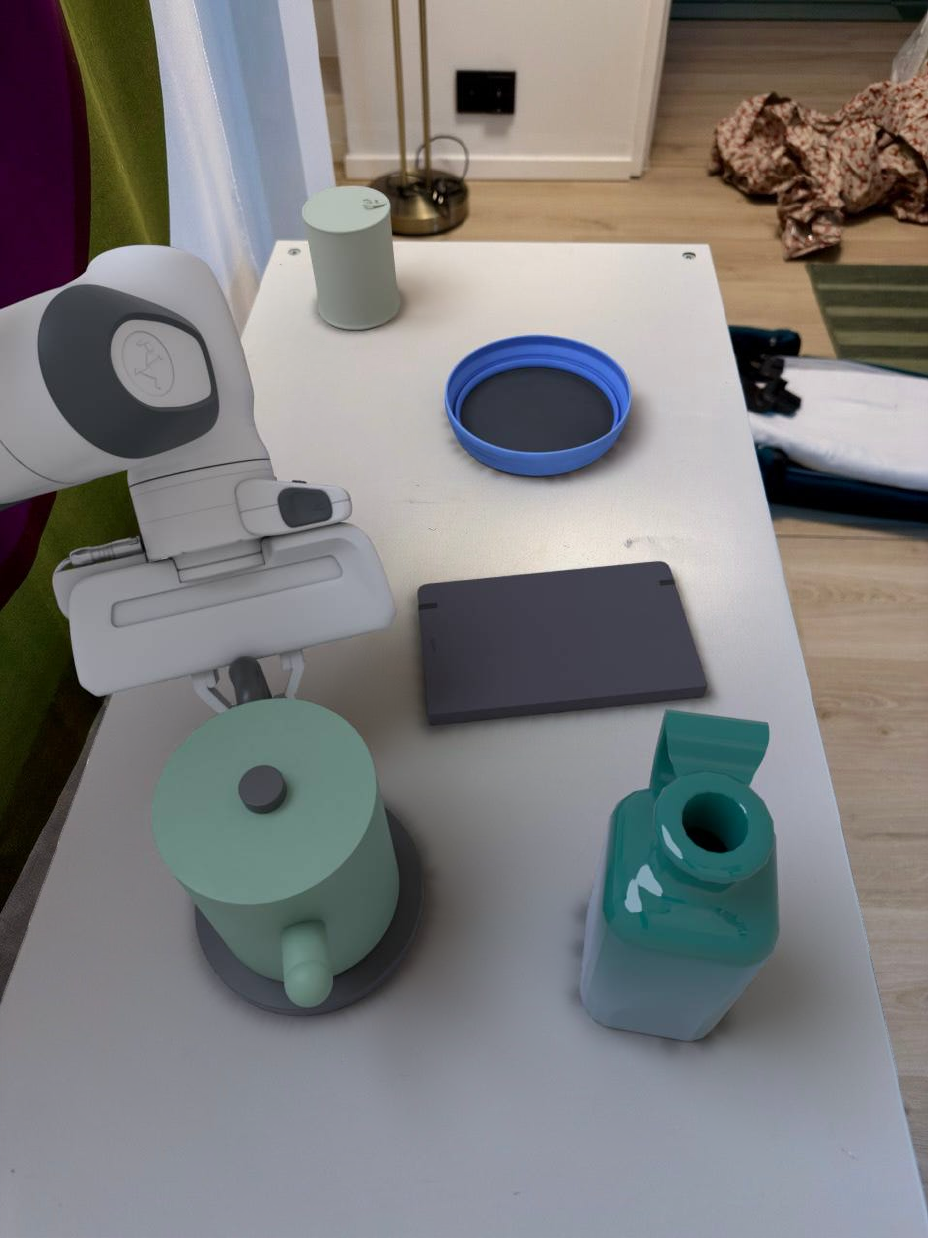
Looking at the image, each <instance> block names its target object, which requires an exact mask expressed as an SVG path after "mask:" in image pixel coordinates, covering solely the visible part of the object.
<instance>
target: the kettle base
mask: <svg viewBox="0 0 928 1238" xmlns="http://www.w3.org/2000/svg"><path fill="white" fill-rule="evenodd" d="M384 809H385V813H386V818H387V822H388V826H389V831H390V835H391V839H392V844H393V848H394V852H395V857H396V861H397V866H398V871H399V896H398V901H397V906H396V909H395V912H394V915H393V918H392V920H391V922H390V924H389V927H388V929H387V930H386V932H385V933H384V935H383V937H382V938H381V940H380V941H379V942H378V943H377V945H376V946H375V947H374V948H373V949H372V951H370V952H369V953H368V954H367V955H366V956H365V957H364V958H363V959H362V960H360V961H359V962H358V963H356V964H355V965H354V966H352V967H351V968H349V969H347V970H345V971H343V972H342V973H340V974H337V975H335V976H333V985H332V989H331V992H330V994H329V995H328V997H327V998H326V999H325V1000H324V1001H323V1002H322V1003H320V1004H319V1005H316V1006H313V1007H301V1006H298V1005H296V1004H295V1003H293V1002H292V1001H291V1000H290V999H289V997H288V996H287V994H286V991H285V986H284V982H281V981H276V980H273V979H270V978H267V977H264V976H262V975H260V974H258V973H256V972H254V971H253V970H251V969H250V968H248V967H247V966H246V965H245V964H243V963H242V962H241V961H240V960H239V959H238V958H237V957H236V956H235V954H234V953H233V952H232V950H231V949H230V948H229V947H228V945H227V944H226V943H225V941H224V940H223V939H222V938H221V936H220V935H219V934H218V932H217V931H216V930H215V928H214V927H213V926H212V924H211V923H210V922H209V921H208V919H207V918H206V917H205V915H204V914H203V913H202V911H201V910H200V909H199V908H198V906H197V905H196V904H195V903H194V919H195V920H194V921H195V927H196V928H195V929H196V933H197V938H198V942H199V944H200V947H201V950H202V953H203V955H204V956H205V958H206V960H207V963H208V964H209V966H210V967H211V968H212V970H213V971H214V972H215V974H216V975H217V976H218V978H219V979H221V981H222V982H223V983H224V984H225V986H227V987H228V989H230V990H231V991H232V992H233V994H235V995H236V996H238V997H239V998H241V999H242V1000H244V1001H246V1002H247V1003H248V1004H250V1005H252V1006H255V1007H257V1008H258V1009H260V1010H264V1011H267V1012H271V1013H274V1014H279V1015H285V1016H295V1017H296V1016H297V1017H298V1016H299V1017H302V1016H305V1017H306V1016H314V1015H315V1016H316V1015H323V1014H326V1013H330V1012H334V1011H336V1010H339V1009H343V1008H344V1007H347V1006H349V1005H351V1004H354V1003H355V1002H357V1001H359V1000H361V999H362V998H364V997H366V996H368V995H369V994H371V993H372V992H373V991H374V990H376V989H378V987H380V986H381V985H382V984H383V983H384V982H385V981H386V980H387V979H388V978H389V977H391V975H393V973H394V972H395V971H396V969H397V968H398V966H400V964H401V963H402V962H403V960H404V958H405V957H406V955H407V954H408V952H409V951H410V948H411V947H412V944H413V942H414V940H415V938H416V935H417V934H418V929H419V926H420V924H421V921H422V920H421V919H422V915H423V909H424V897H425V888H424V878H423V877H424V876H423V871H422V865H421V862H420V858H419V857H420V856H419V854H418V851H417V849H416V846H415V843H414V841H413V840H412V837H411V836H410V834H409V833H408V831H407V829H406V827H405V826H404V825H403V824H402V822H401V821H400V820H399V819H398V817H396V816H395V815H394V814H393V813H392V812H391V811H390V810H389V809H388V808H387V807H385V806H384Z"/></svg>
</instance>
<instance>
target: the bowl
mask: <svg viewBox="0 0 928 1238" xmlns="http://www.w3.org/2000/svg"><path fill="white" fill-rule="evenodd" d="M631 407H632V389H631V383H630V381H629V378H628V375H627V373H626V372H625V370H624V368H623V367H622V366H621V365H620V364H619V363H618V362H617V361H616V360H615V359H614V358H613V357H611V356H610V355H608V354H607V353H606V352H604V351H603V350H601V349H600V348H599V349H598V348H597V347H596V346H593V345H590V344H587V343H585V342H582V341H579V340H576V339H572V338H568V337H563V336H557V335H550V334H523V335H516V336H510V337H505V338H502V339H498V340H495V341H491V342H489V343H487V344H483V345H482V346H479V347H478V348H476V349H474V350H473V351H471V352H470V353H468V354H466V355H465V356H464V357H463V358H461V360H459V361H458V363H457V364H455V366H454V367H453V368H452V370H451V372H450V373H449V374H448V377H447V380H446V384H445V389H444V408H445V411H446V415H447V418H448V421H449V423H450V425H451V428H452V431H453V434H454V436H455V438H456V439H457V441H458V443H459V444H460V445H461V446H462V448H463V449H464V450H465V451H466V452H467V453H468V454H470V456H472V457H473V458H475V459H476V460H478V462H481V463H483V464H484V465H486V466H489V467H490V468H493V469H496V470H499V471H503V472H506V473H510V474H515V475H522V476H537V477H539V476H541V477H542V476H553V475H560V474H565V473H569V472H572V471H575V470H579V469H581V468H584V467H586V466H588V465H590V464H592V463H593V462H595V461H596V460H598V459H600V458H601V457H603V455H605V454H606V453H607V452H608V451H609V450H610V449H611V448H612V447H613V446H614V445H615V443H616V442H617V440H618V438H619V436H620V434H621V432H622V431H623V429H624V427H625V425H626V423H627V421H628V418H629V416H630V413H631Z"/></svg>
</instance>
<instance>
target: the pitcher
mask: <svg viewBox="0 0 928 1238" xmlns="http://www.w3.org/2000/svg"><path fill="white" fill-rule="evenodd" d="M769 743H770V725H769V722H767V721H760V720H752V719H745V718H738V717H737V718H736V717H730V716H723V715H716V714H714V715H713V714H709V713H700V712H692V711H684V710H677V709H671V708H670V709H669V708H665V710H664V713H663V717H662V720H661V725H660V729H659V734H658V737H657V742H656V745H655V750H654V754H653V760H652V766H651V772H650V778H649V784H648V787H646V788H641V789H637V790H634V791H632V792H630V793H628V794H627V795H626V796H624V797H623V798H622V799H620V800H618V802H617V803H616V805H615V806H614V808H613V809H612V811H611V814H610V815H609V817H608V821H607V825H606V830H605V834H604V839H603V842H602V847H601V851H600V855H599V859H598V863H597V868H596V872H595V877H594V881H593V884H592V890H591V894H590V897H589V902H588V906H587V910H586V911H587V912H586V920H585V928H584V929H585V930H584V940H583V949H582V950H583V951H582V963H581V972H580V984H579V994H580V999H581V1002H582V1006H583V1007H584V1009H585V1010H586V1012H587V1013H588V1014H589V1015H590V1017H591V1018H592V1019H593V1020H594V1021H596V1022H597V1023H599V1024H601V1025H602V1026H604V1027H607V1028H612V1029H617V1030H618V1029H619V1030H623V1031H629V1032H634V1033H639V1034H646V1035H651V1036H656V1037H663V1038H667V1039H674V1040H679V1041H685V1042H693V1041H696V1040H700V1039H703V1038H705V1037H706V1036H707V1034H709V1033H710V1032H712V1030H714V1029H715V1027H716V1026H717V1025H718V1023H719V1022H720V1021H721V1019H722V1018H723V1017H724V1016H725V1015H726V1013H727V1012H728V1011H729V1010H730V1008H731V1007H732V1006H733V1005H734V1004H735V1003H736V1001H737V1000H738V998H739V997H740V996H741V995H742V994H743V993H744V991H745V990H746V989H747V987H749V985H750V984H751V982H752V981H753V980H754V979H755V977H756V976H757V975H758V974H759V973H760V971H761V970H762V969H763V967H765V966H766V964H767V962H769V960H770V959H771V958H772V956H773V955H774V953H775V950H776V948H777V945H778V943H779V940H780V938H781V929H780V899H779V896H780V895H779V869H778V842H777V841H778V839H777V835H776V832H775V821H774V820H773V817H772V815H771V813H770V811H769V809H768V806H767V805H766V803H765V800H764V799H763V798H762V797H761V796H759V794H758V793H756V791H755V790H754V789H753V788H752V787H751V786H750V785H751V783H752V782H753V779H754V776H755V774H756V772H757V771H758V769H759V767H760V766H761V764H762V762H763V760H764V758H765V756H766V753H767V750H768V746H769Z"/></svg>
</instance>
